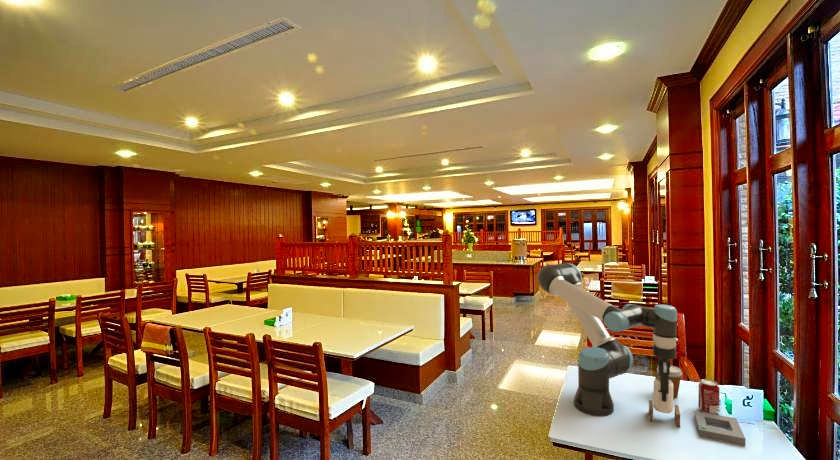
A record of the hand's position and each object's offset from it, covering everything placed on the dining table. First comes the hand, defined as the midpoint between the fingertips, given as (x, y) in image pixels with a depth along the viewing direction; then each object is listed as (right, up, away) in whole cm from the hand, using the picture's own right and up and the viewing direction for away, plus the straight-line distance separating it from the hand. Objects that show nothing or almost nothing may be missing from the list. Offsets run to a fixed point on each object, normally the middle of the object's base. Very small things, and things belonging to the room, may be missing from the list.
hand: (662, 404), depth 155 cm
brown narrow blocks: (0, -6, 0) cm, 6 cm away
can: (0, -2, 0) cm, 2 cm away
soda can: (+22, -5, +5) cm, 23 cm away
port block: (+15, -6, -8) cm, 18 cm away
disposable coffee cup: (+14, -5, +20) cm, 25 cm away
